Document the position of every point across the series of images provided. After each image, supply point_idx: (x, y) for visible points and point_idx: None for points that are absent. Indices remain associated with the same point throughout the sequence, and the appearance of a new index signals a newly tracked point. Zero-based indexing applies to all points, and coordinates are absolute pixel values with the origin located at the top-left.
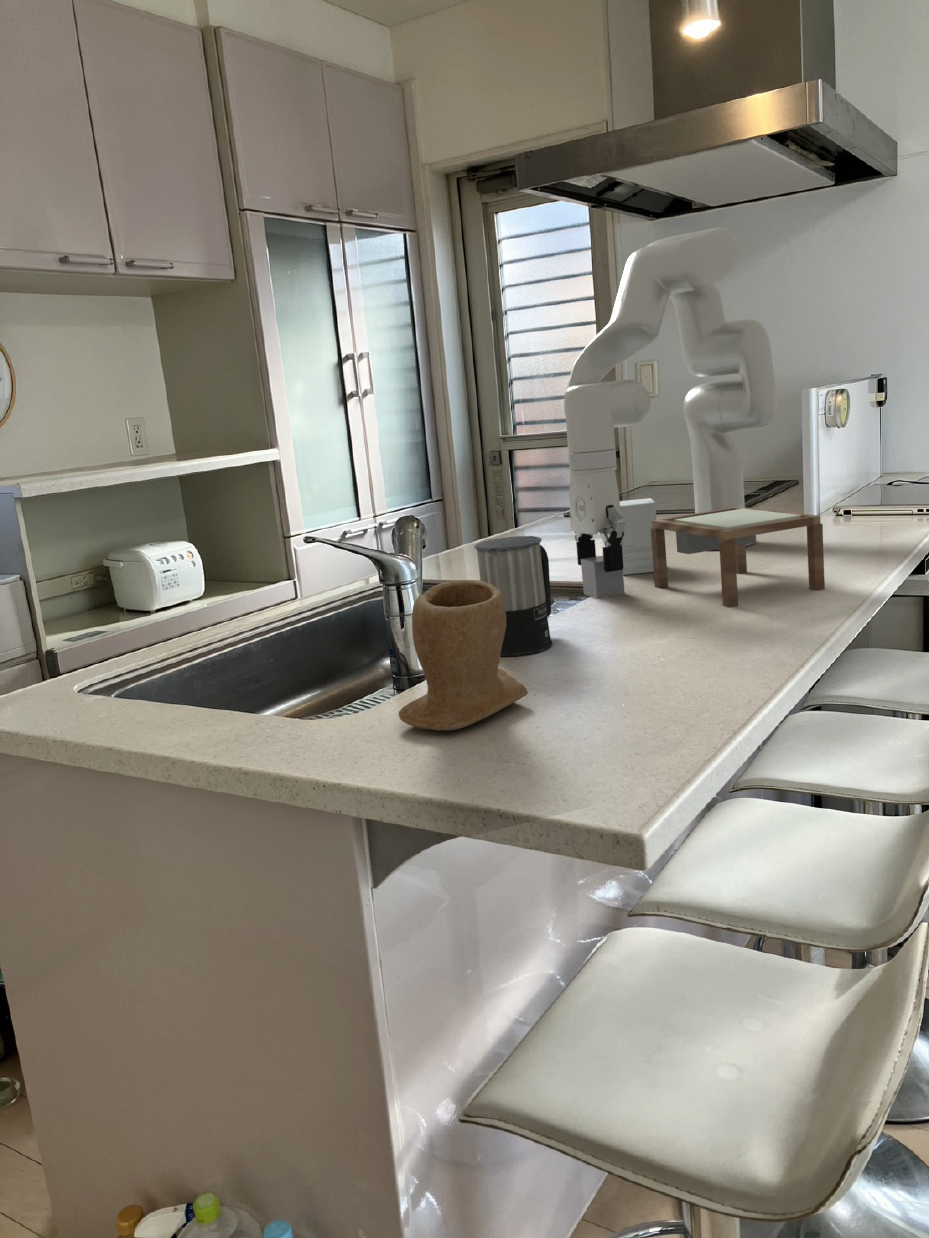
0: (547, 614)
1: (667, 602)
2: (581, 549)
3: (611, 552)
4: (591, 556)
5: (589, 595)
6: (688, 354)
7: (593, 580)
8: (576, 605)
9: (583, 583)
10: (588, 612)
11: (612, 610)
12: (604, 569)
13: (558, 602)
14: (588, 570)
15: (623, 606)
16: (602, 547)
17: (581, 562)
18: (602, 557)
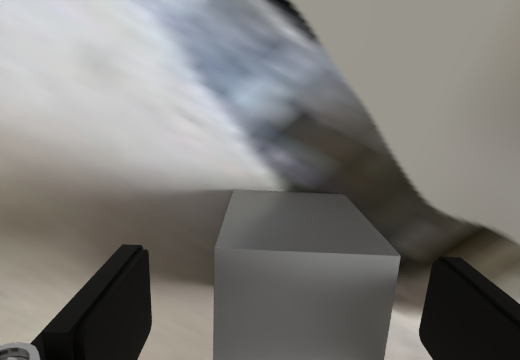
0: None
1: (6, 306)
2: (489, 326)
3: (40, 338)
4: (442, 342)
5: (295, 192)
6: None
7: (249, 212)
8: (185, 79)
9: (350, 207)
10: (37, 51)
11: (10, 131)
12: (131, 246)
13: (293, 54)
14: (295, 228)
15: (45, 188)
16: (69, 331)
17: (386, 247)
18: (326, 352)
